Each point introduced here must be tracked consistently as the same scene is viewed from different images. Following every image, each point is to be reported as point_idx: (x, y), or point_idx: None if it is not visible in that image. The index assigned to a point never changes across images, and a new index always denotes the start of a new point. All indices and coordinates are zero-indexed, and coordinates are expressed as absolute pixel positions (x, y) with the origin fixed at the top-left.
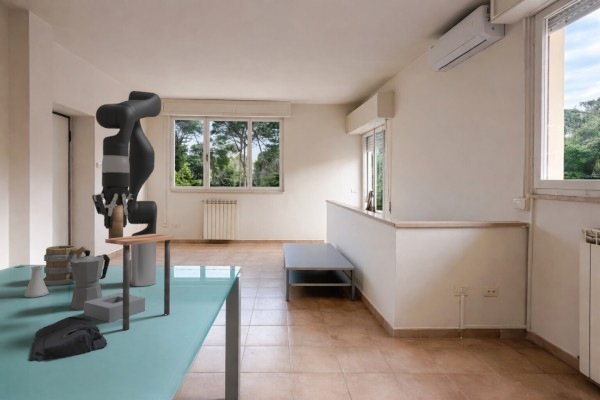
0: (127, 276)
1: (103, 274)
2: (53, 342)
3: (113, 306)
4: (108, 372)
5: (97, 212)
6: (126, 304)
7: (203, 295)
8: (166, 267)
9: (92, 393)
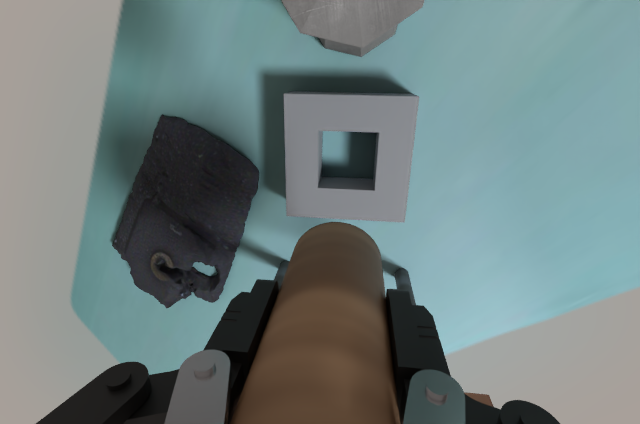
0: None
1: None
2: (137, 256)
3: (302, 211)
4: (174, 362)
5: (100, 379)
6: None
7: (603, 248)
8: None
9: None
